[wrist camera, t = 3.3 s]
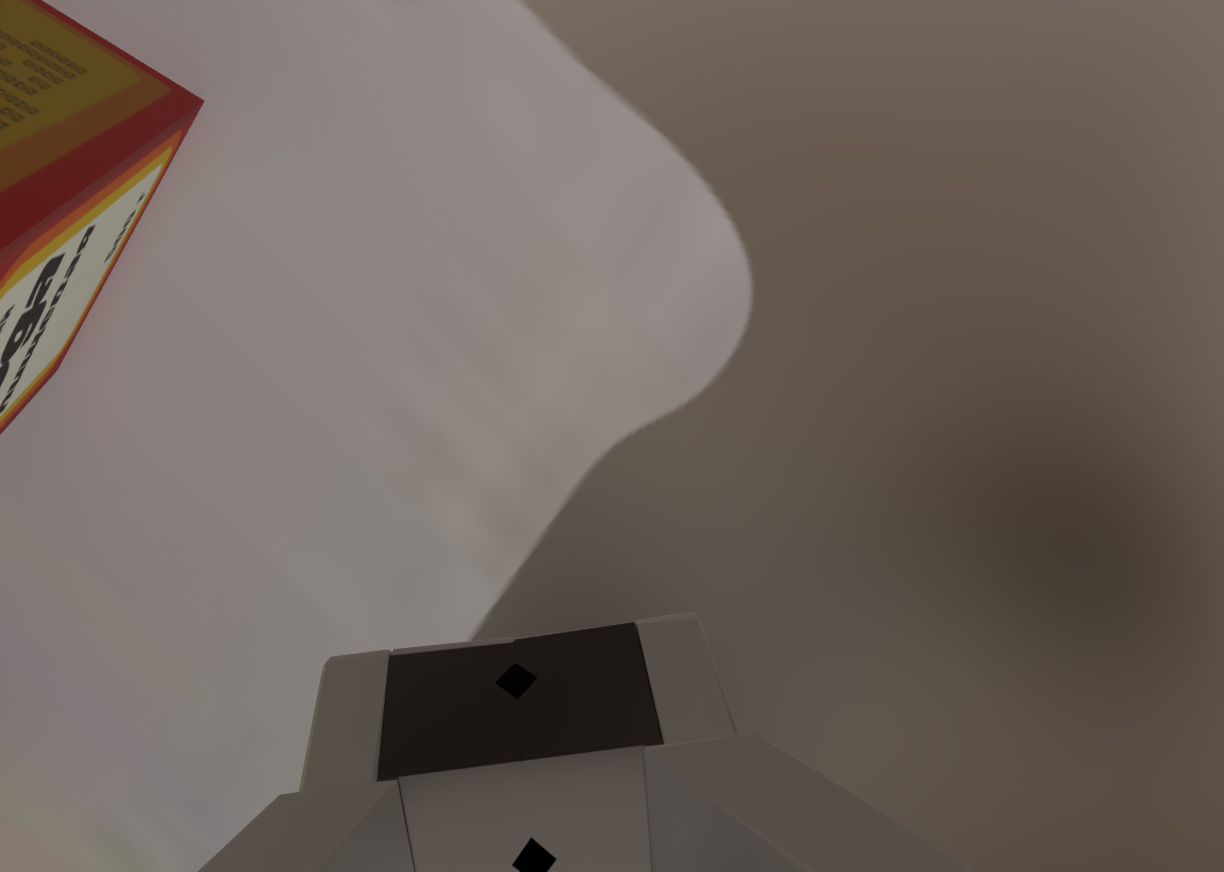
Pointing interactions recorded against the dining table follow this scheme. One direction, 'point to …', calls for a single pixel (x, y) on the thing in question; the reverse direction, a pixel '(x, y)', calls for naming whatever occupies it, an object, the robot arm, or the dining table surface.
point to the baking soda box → (69, 179)
